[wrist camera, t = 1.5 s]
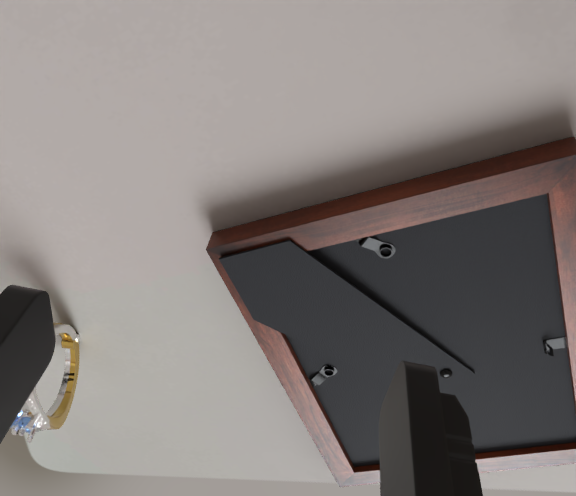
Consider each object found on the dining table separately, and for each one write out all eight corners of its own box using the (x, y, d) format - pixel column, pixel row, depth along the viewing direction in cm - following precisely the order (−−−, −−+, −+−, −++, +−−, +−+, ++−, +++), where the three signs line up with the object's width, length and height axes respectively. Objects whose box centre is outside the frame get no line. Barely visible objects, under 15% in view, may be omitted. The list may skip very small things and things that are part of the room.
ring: (101, 370, 42) (53, 465, 35) (60, 364, 42) (5, 458, 35) (88, 303, 37) (32, 397, 31) (43, 297, 38) (-23, 389, 31)
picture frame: (212, 232, 33) (340, 467, 46) (204, 252, 31) (339, 490, 44) (573, 136, 27) (601, 438, 40) (586, 155, 25) (611, 463, 38)
